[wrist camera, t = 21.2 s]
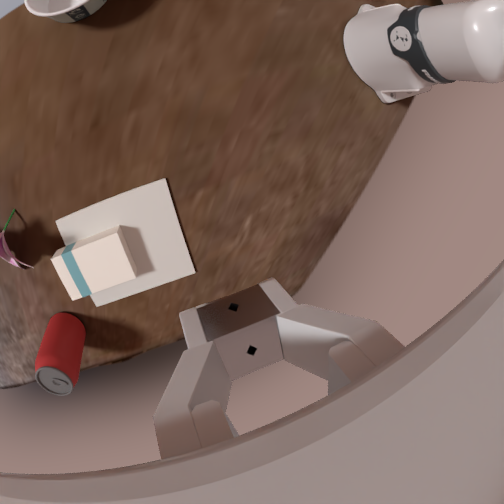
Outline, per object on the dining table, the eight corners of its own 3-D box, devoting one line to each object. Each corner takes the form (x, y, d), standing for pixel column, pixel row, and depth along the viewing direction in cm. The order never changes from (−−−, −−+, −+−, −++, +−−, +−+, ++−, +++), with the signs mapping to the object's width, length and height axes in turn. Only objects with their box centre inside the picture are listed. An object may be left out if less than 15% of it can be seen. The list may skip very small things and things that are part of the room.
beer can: (87, 345, 39) (80, 401, 29) (52, 339, 36) (37, 393, 26) (85, 313, 37) (73, 369, 27) (47, 307, 34) (26, 360, 24)
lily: (-26, 210, 25) (-52, 263, 20) (-1, 167, 22) (-38, 226, 16) (26, 252, 34) (10, 305, 29) (61, 221, 31) (40, 283, 25)
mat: (165, 177, 34) (165, 178, 34) (195, 271, 40) (195, 272, 40) (56, 220, 31) (55, 221, 30) (97, 305, 37) (96, 306, 37)
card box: (117, 232, 31) (50, 259, 29) (136, 278, 34) (72, 300, 32) (119, 224, 34) (57, 249, 32) (136, 267, 37) (76, 289, 35)
